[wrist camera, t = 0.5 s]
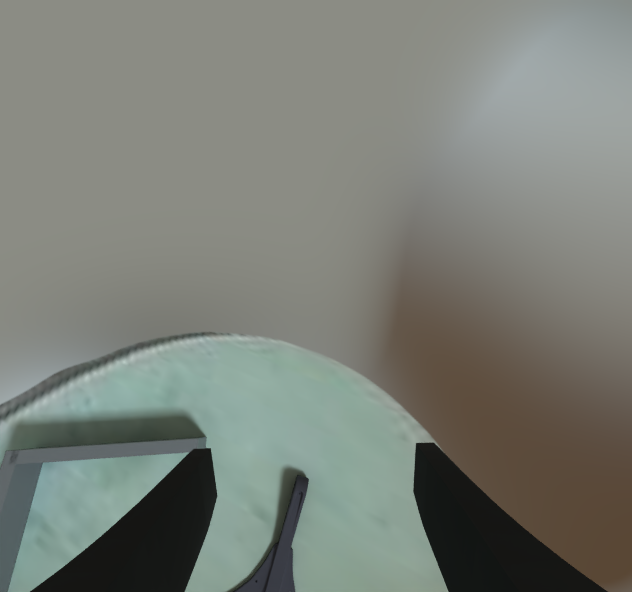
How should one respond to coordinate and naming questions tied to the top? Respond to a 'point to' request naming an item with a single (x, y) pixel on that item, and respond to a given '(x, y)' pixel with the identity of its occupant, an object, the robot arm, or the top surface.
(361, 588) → the top surface
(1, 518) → the box
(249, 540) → the top surface
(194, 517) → the robot arm
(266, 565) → the bracket
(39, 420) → the top surface
